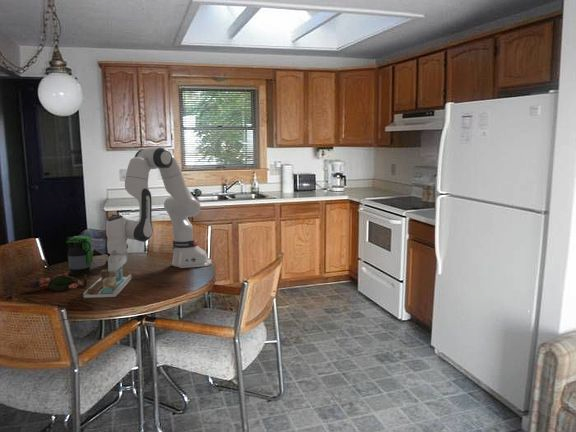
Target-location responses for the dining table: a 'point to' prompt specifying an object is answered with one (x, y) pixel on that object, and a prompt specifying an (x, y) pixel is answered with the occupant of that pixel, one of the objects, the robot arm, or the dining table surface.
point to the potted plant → (79, 254)
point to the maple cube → (109, 282)
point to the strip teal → (118, 282)
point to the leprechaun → (58, 282)
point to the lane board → (115, 292)
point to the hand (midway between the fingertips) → (118, 275)
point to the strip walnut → (99, 283)
